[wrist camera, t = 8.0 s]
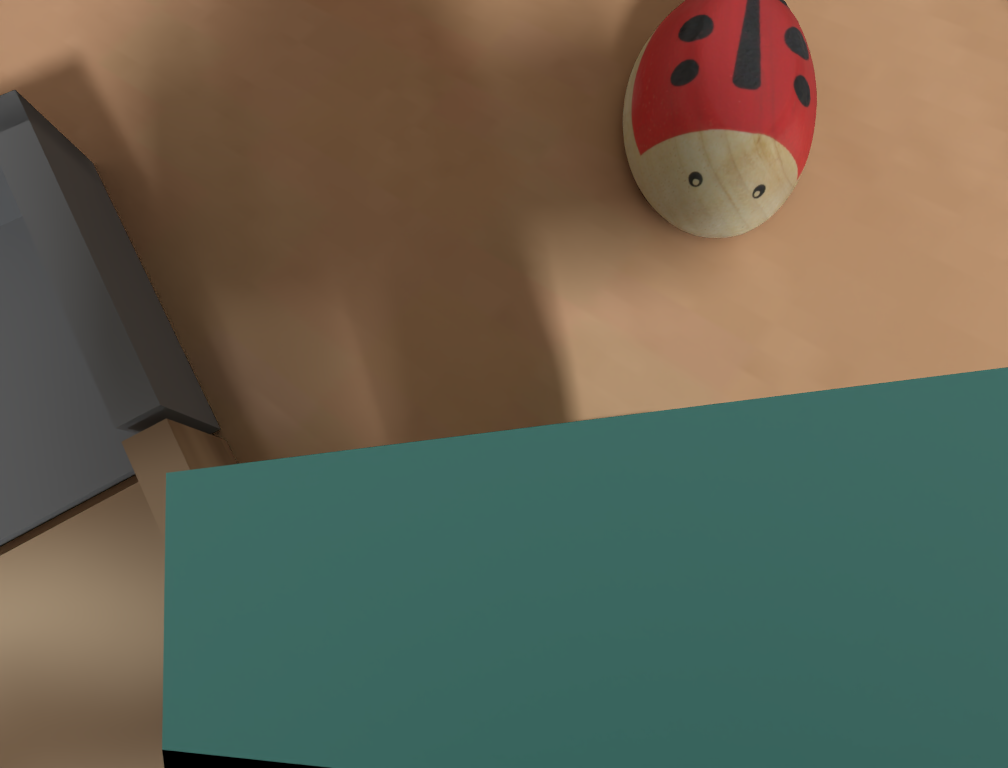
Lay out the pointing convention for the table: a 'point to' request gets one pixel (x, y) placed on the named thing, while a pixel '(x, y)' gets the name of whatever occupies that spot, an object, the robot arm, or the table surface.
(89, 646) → the open channel
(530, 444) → the teal block
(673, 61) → the ladybug figurine
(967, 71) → the table surface
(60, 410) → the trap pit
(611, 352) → the table surface
